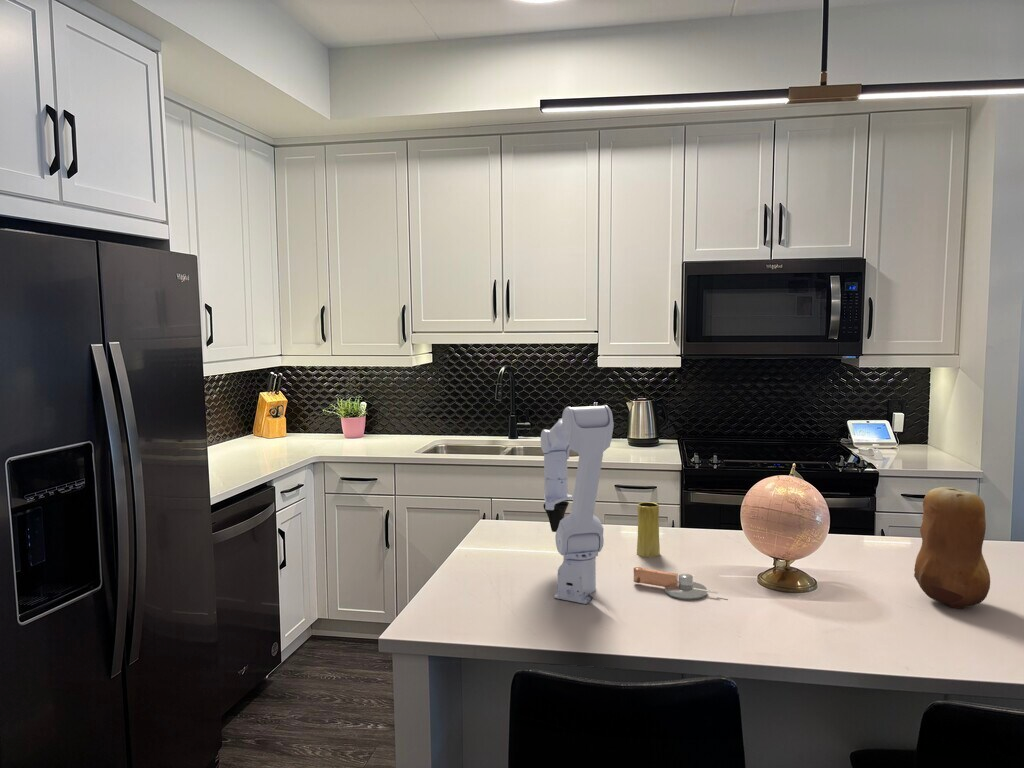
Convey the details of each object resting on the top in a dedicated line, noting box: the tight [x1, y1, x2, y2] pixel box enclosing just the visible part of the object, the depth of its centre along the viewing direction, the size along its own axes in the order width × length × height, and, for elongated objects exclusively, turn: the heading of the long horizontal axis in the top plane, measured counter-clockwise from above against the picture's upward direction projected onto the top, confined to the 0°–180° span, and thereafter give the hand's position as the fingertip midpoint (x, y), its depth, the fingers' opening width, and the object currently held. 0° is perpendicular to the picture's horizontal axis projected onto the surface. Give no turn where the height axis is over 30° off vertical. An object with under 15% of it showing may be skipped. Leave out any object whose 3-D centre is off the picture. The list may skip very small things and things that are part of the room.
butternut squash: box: [913, 486, 991, 610], centre depth 155 cm, size 14×13×25 cm
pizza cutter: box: [633, 566, 719, 601], centre depth 163 cm, size 19×9×4 cm, turn 61°
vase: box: [636, 501, 661, 558], centre depth 188 cm, size 6×6×14 cm
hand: (556, 531), depth 182 cm, fingers closed
